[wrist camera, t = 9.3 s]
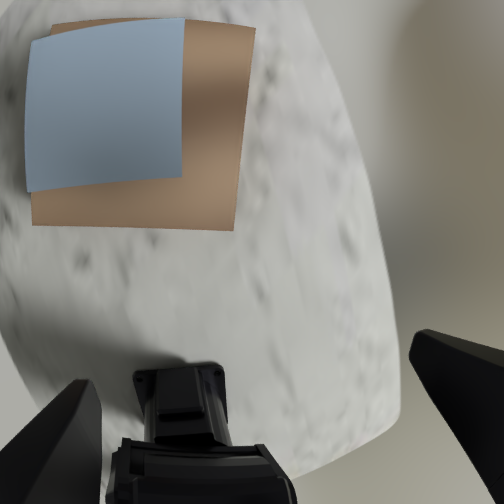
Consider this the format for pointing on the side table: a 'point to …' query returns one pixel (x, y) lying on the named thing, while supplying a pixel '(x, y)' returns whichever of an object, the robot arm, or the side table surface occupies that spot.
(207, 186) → the walnut base
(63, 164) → the blue cube
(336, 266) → the side table surface
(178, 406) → the robot arm
